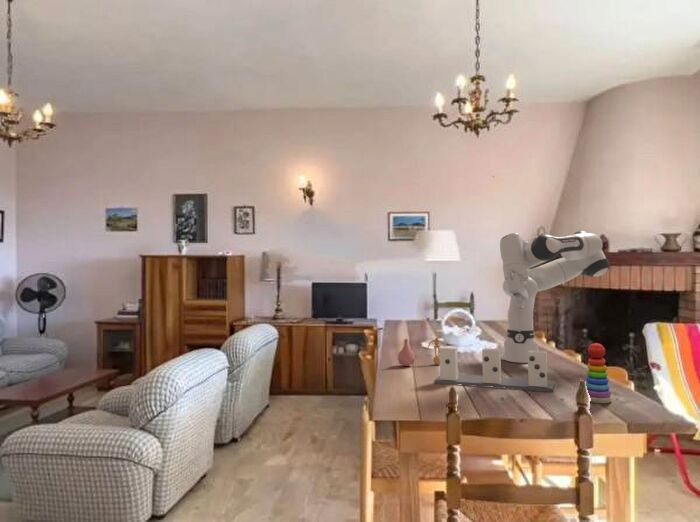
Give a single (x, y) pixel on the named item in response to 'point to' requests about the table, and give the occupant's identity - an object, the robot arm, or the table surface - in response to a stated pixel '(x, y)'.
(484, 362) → the key two
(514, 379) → the grey flat board
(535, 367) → the key three
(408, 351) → the perfume bottle
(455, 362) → the key one
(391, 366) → the table surface
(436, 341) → the figurine
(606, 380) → the stacking toy
